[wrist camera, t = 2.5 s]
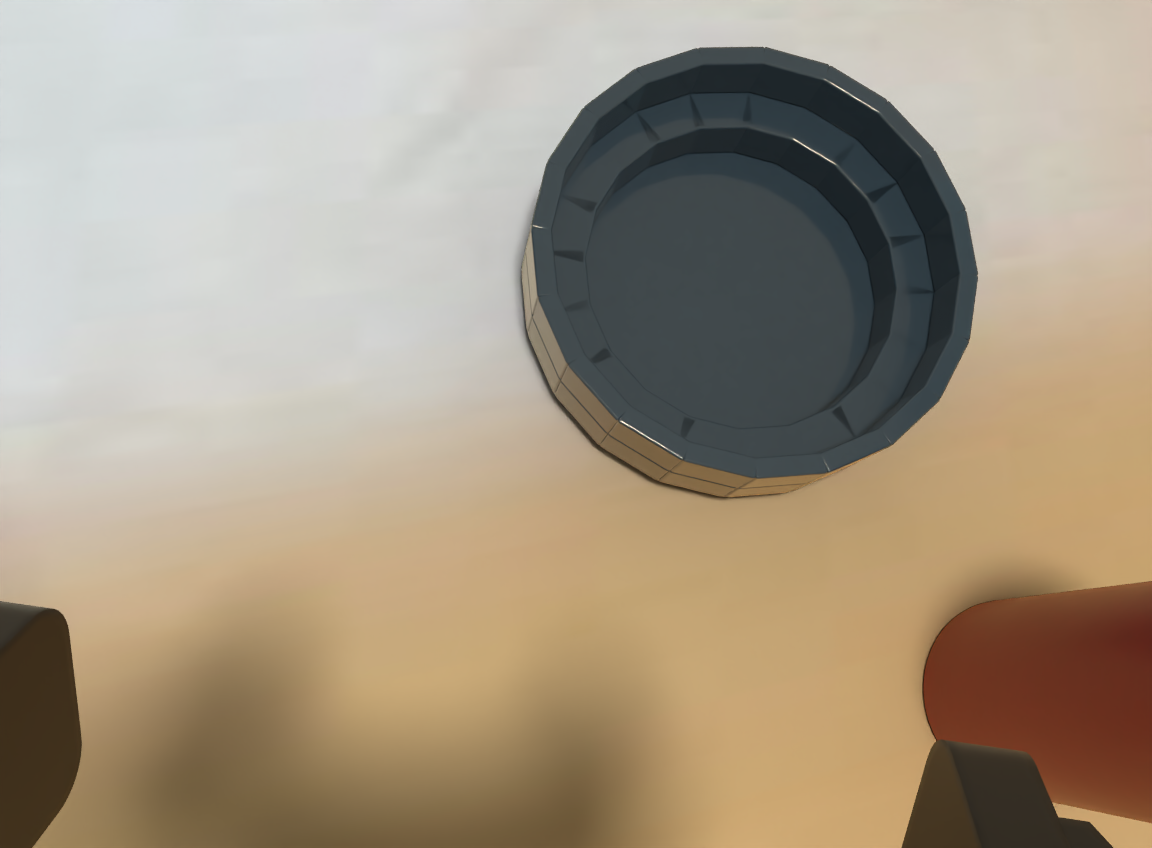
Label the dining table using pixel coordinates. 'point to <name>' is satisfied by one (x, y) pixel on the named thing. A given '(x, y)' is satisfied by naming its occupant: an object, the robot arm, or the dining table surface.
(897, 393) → the bowl
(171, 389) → the dining table surface
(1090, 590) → the candle
